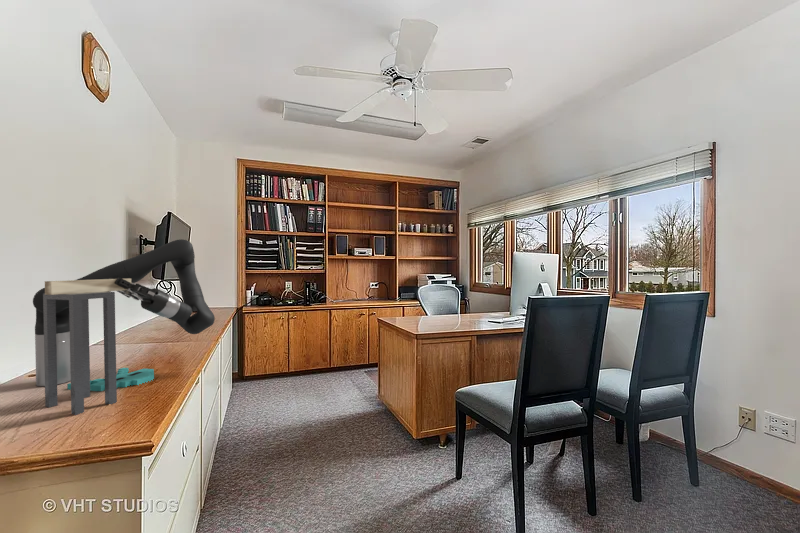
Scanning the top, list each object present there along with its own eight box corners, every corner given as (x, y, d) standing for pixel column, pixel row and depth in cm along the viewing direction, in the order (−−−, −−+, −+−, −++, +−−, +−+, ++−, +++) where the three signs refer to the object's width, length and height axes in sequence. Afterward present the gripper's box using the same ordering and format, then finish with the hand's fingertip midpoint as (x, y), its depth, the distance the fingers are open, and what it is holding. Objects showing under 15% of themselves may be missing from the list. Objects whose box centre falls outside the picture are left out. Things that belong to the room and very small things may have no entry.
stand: (45, 406, 108) (43, 293, 108) (86, 395, 117) (84, 291, 117) (75, 415, 101) (72, 294, 101) (116, 402, 110) (114, 291, 110)
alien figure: (67, 390, 123) (118, 393, 119) (67, 383, 123) (118, 386, 119) (123, 373, 143) (169, 375, 139) (123, 367, 143) (169, 369, 139)
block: (44, 294, 103) (44, 281, 103) (124, 289, 121) (124, 278, 121) (51, 294, 102) (51, 281, 102) (131, 289, 120) (131, 278, 120)
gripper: (153, 293, 135) (105, 269, 121) (179, 293, 129) (132, 269, 115) (143, 313, 131) (92, 291, 118) (169, 314, 125) (119, 291, 112)
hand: (112, 280), depth 117 cm, fingers open, 4 cm apart
